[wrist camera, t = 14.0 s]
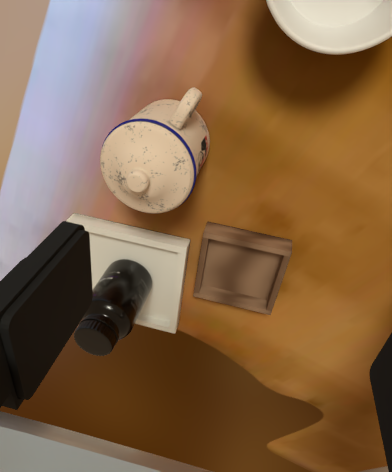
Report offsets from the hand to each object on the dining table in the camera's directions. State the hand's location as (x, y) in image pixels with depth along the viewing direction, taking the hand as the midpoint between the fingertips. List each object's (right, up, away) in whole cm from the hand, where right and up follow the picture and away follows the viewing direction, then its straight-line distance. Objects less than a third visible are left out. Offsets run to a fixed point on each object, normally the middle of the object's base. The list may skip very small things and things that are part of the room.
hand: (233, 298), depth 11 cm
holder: (+5, -2, +37) cm, 37 cm away
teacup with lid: (-3, +14, +29) cm, 32 cm away
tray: (-11, -3, +42) cm, 43 cm away
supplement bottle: (-10, -4, +42) cm, 43 cm away
